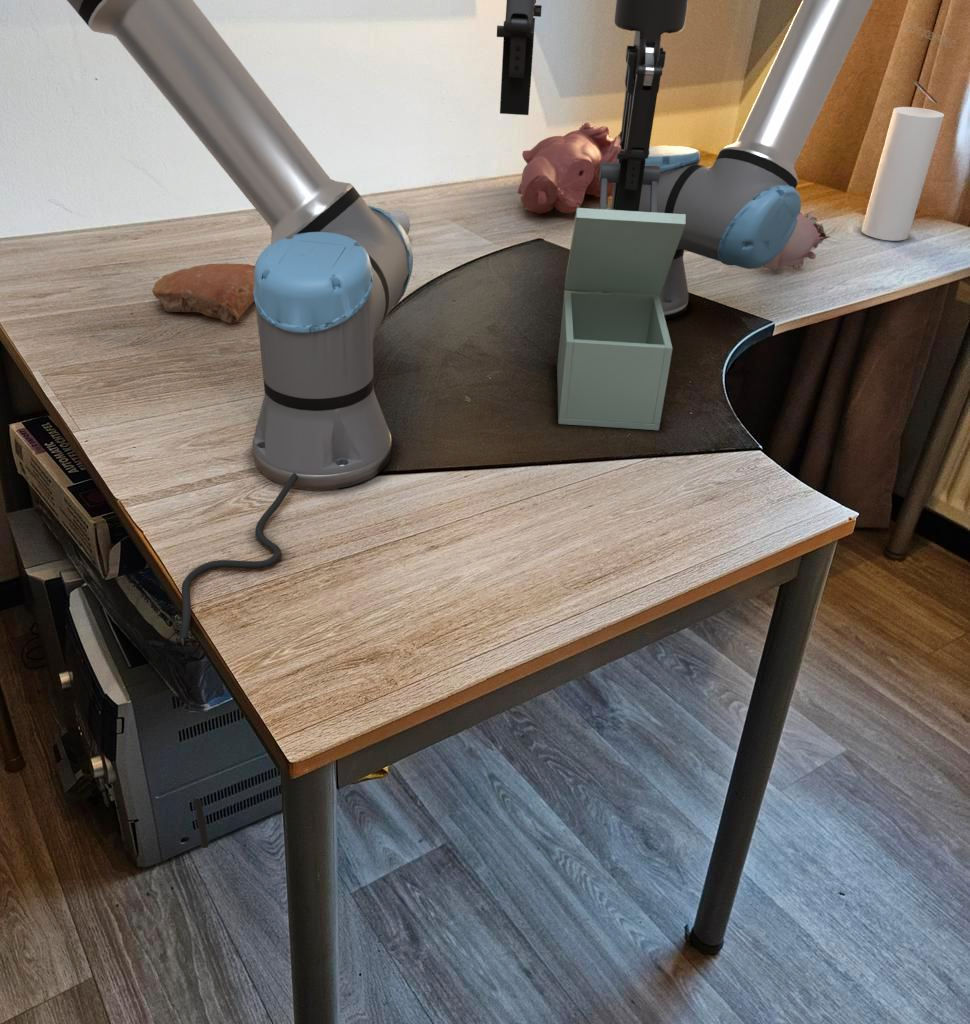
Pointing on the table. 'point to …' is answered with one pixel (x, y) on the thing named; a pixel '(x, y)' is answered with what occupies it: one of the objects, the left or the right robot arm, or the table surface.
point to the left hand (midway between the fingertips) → (516, 99)
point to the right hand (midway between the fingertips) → (625, 211)
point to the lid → (623, 243)
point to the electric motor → (401, 218)
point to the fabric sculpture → (567, 169)
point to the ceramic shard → (208, 290)
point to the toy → (800, 243)
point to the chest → (612, 360)
